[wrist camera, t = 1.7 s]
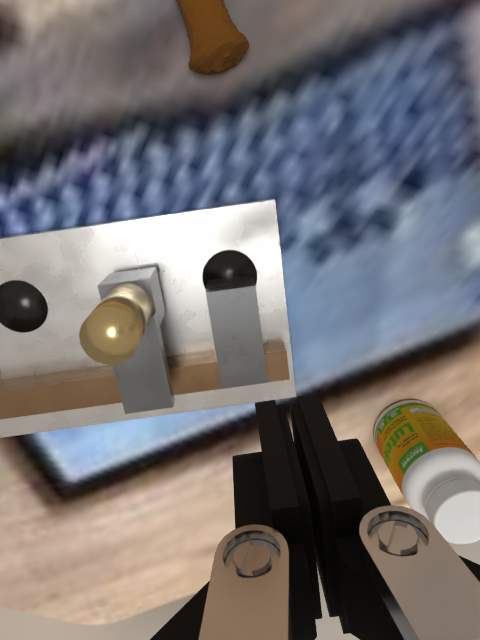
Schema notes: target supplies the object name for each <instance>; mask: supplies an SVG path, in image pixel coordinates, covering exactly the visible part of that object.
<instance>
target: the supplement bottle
mask: <svg viewBox="0 0 480 640" xmlns="http://www.w3.org/2000/svg"><path fill="white" fill-rule="evenodd" d="M374 440H375V443H376V445H377V447H378V449H379V451H380V453H381V455H382V457H383V459H384V461H385V463H386V465H387V466H388V468H389V470H390V472H391V474H392V476H393V478H394V480H395V482H396V483H397V485H398V487H399V489H400V491H401V493H402V495H403V496H404V498H405V500H406V502H407V503H408V505H409V506H410V508H411V509H413V510H415V511H417V512H418V513H420V514H422V515H424V516H425V517H426V518H427V519H428V520H429V521H430V522H431V523H432V524H433V525H434V526H435V528H436V529H437V530H438V531H439V533H440V534H441V535H442V536H443V538H444V539H445V540H446V541H448V542H451V543H455V544H468V543H473V542H476V541H478V540H480V462H479V460H478V459H477V458H476V457H475V455H474V454H473V453H472V452H471V451H470V450H469V448H468V447H467V446H466V445H465V444H464V443H463V441H462V440H461V439H460V438H459V437H458V436H457V434H456V433H455V432H454V431H453V430H452V428H451V427H450V426H449V425H448V424H447V422H446V421H445V420H444V419H443V418H442V416H441V415H440V414H439V413H438V412H437V411H436V410H435V409H434V408H433V407H432V406H430V405H429V404H427V403H425V402H422V401H417V400H406V401H401V402H398V403H395V404H393V405H391V406H390V407H388V408H387V409H386V410H385V411H384V412H382V414H381V415H380V416H379V418H378V419H377V421H376V424H375V427H374Z"/></svg>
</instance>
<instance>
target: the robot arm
mask: <svg viewBox="0 0 480 640" xmlns="http://www.w3.org/2000/svg"><path fill="white" fill-rule="evenodd" d="M255 407H256V414H257V421H258V428H259V435H260V442H261V449H262V452H256V453H249V454H242V455H235V456H233V481H234V505H235V528H236V529H235V530H233V531H231V532H230V533H229V534H227V535H226V536H225V537H224V538H223V539H222V540H221V542H220V543H219V544H218V547H217V550H216V552H215V556H214V562H213V567H212V572H211V577H210V581H209V582H208V583H207V584H206V585H205V586H204V587H203V588H202V589H201V590H200V591H199V592H198V593H197V594H196V595H195V596H194V597H193V598H192V599H191V600H190V601H189V602H188V603H187V604H185V606H184V607H183V608H181V610H179V611H178V613H176V614H175V615H174V616H173V617H172V618H171V619H170V620H169V621H168V622H167V623H166V624H165V625H164V626H163V627H162V628H161V629H160V630H159V631H158V632H157V633H156V634H155V635H154V636H153V637H152V638H151V639H150V640H315V638H316V637H317V632H316V624H315V619H321V618H322V612H321V602H320V592H319V583H318V574H317V567H318V571H319V575H320V579H321V583H322V587H323V592H324V596H325V600H326V603H327V608H328V612H329V616H330V617H336V616H339V618H340V622H341V626H342V629H343V633H344V634H346V633H351V634H353V635H354V636H356V637H357V638H359V639H360V640H480V565H478V564H476V563H474V562H472V561H470V560H468V559H465V558H463V557H461V556H459V555H457V554H456V552H455V551H454V550H453V549H452V547H451V546H450V545H449V544H448V543H447V541H446V540H445V539H444V538H443V536H442V535H441V534H440V533H439V531H438V530H437V529H436V528H435V526H434V525H433V524H432V523H431V522H430V521H429V520H428V519H427V518H426V517H425V516H424V515H422V514H420V513H418V512H417V511H415V510H413V509H409V508H406V507H403V506H393V505H391V504H390V502H389V500H388V498H387V496H386V494H385V492H384V490H383V488H382V486H381V484H380V482H379V480H378V478H377V476H376V474H375V472H374V470H373V468H372V466H371V464H370V462H369V460H368V458H367V456H366V454H365V452H364V450H363V448H362V446H361V444H360V442H359V440H358V439H349V440H342V441H337V438H336V436H335V434H334V431H333V429H332V427H331V424H330V422H329V419H328V417H327V415H326V412H325V410H324V407H323V405H322V403H321V400H320V398H319V396H318V394H312V395H305V396H298V397H297V402H294V403H290V410H291V419H292V428H293V437H294V441H293V437H292V433H291V430H290V426H289V422H288V418H287V414H286V411H285V407H284V404H280V405H276V402H275V400H270V401H262V402H255ZM316 562H317V564H316Z"/></svg>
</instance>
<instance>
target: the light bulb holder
mask: <svg viewBox="0 0 480 640" xmlns="http://www.w3.org/2000/svg"><path fill="white" fill-rule="evenodd" d="M98 290H99V294H100V298H101V302H100V303H99V304H98V305H97V307H96V308H95V309H94V310H93V311H92V312H91V314H90V315H89V316H88V317H87V318H86V319H85V321H84V322H83V323H82V325H81V328H80V332H79V339H80V344H81V346H82V348H83V350H84V351H85V353H86V354H87V355H88V356H89V357H90V358H92V359H93V360H95V361H97V362H99V363H102V364H106V365H113V368H114V372H115V376H116V380H117V384H118V388H119V392H120V396H121V400H122V404H123V408H124V412H125V414H129V413H136V412H143V411H151V410H158V409H165V408H172V407H173V406H174V401H175V397H174V392H173V388H172V383H171V378H170V373H169V368H168V364H167V359H166V354H165V349H164V344H163V339H162V335H161V330H160V324H161V321H162V319H163V316H164V313H165V308H164V303H163V298H162V293H161V288H160V283H159V278H158V273H157V268H156V267H151V268H144V269H137V270H130V271H123V272H116V273H109V275H108V276H107V277H106V278H105V279H104V280H103V281H102V282H101V283H100V284H99V285H98Z"/></svg>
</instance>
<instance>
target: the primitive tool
mask: <svg viewBox="0 0 480 640" xmlns="http://www.w3.org/2000/svg"><path fill="white" fill-rule="evenodd" d="M177 2H178V4H179V6H180V8H181V11H182V14H183V17H184V21H185V24H186V28H187V32H188V38H189V40H190V45H191V56H190V61H189V67H190V69H191V70H193V71H196V72H199V73H205V74H212V73H216V72H221V71H222V70H225V69H228V68H229V67H232V66H235V65H237V63H238V62H239V61H240V60H241V58H242V56H243V55H244V54H245V53H246V51H247V50H248V48H249V43H248V41H247V39H246V37H245V36H244V35H243V34H242V33H240V32H239V31H238V30H237V28H236V26H235V25H234V24H233V23H232V21H231V19H230V17H229V14H228V11H227V9H226V8H225V6H224V4H223V0H177Z"/></svg>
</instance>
